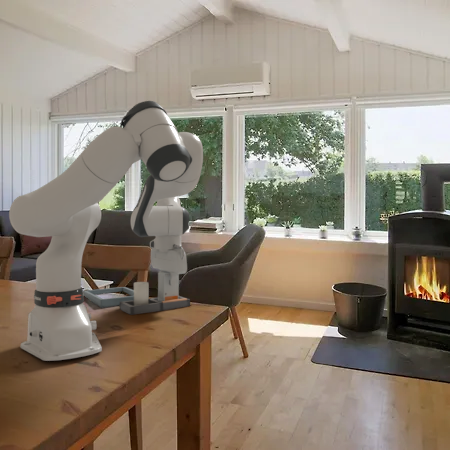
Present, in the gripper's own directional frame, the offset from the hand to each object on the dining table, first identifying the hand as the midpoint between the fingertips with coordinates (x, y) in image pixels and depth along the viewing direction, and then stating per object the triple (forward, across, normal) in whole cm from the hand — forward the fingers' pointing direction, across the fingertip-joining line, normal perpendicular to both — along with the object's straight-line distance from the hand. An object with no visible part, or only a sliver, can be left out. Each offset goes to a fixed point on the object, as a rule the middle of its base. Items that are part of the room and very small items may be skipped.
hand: (168, 284), depth 156 cm
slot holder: (+8, 0, +5) cm, 9 cm away
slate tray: (+8, +19, +12) cm, 24 cm away
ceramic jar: (+8, 0, +10) cm, 13 cm away
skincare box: (+8, 0, 0) cm, 8 cm away
